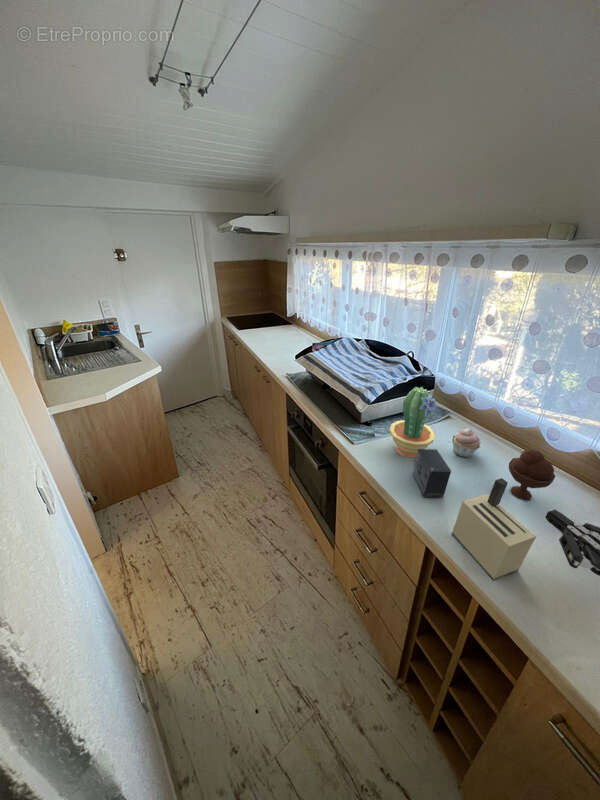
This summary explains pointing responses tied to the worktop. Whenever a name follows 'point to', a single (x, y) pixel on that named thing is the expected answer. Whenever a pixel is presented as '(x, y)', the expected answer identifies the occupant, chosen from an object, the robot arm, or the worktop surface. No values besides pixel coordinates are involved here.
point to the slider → (497, 492)
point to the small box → (431, 473)
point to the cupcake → (465, 443)
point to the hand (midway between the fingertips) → (549, 513)
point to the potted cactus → (414, 423)
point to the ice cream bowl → (530, 473)
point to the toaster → (492, 536)
